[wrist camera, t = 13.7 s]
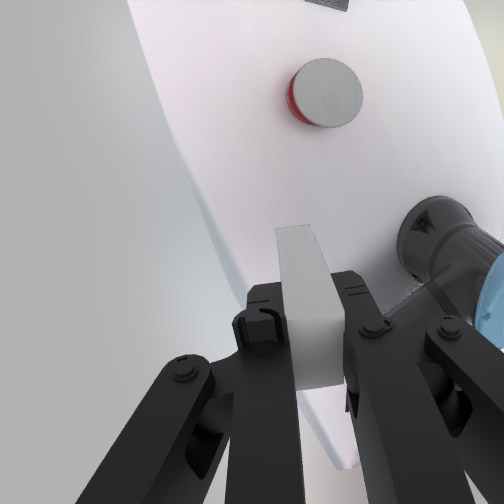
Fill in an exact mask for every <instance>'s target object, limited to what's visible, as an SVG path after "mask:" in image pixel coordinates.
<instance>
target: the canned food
mask: <svg viewBox="0 0 504 504" xmlns="http://www.w3.org/2000/svg"><path fill="white" fill-rule="evenodd" d="M286 98H287V103H288V106H289V108H290V110H291V112H292V113H293V114H294V116H296V117H297V118H298V119H299V120H301V121H302V122H304V123H307V124H311V125H316V126H321V127H327V128H334V127H340V126H343V125H345V124H347V123H349V122H350V121H352V120H353V119H354V118H355V117H356V115H357V114H358V112H359V110H360V108H361V105H362V99H363V94H362V87H361V84H360V82H359V80H358V77H357V76H356V75H355V73H354V72H353V71H352V70H351V69H350V68H349V67H348V66H346V65H345V64H343V63H342V62H339V61H337V60H334V59H330V58H321V59H316V60H313V61H310V62H308V63H307V64H305V65H304V66H303V67H302V68H301V69H300V70H299V71H298V72H297V73H296V75H295V76H294V77H293V78H292V80H291V81H290V83H289V85H288V88H287V92H286Z"/></svg>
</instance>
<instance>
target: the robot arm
mask: <svg viewBox="0 0 504 504" xmlns="http://www.w3.org/2000/svg"><path fill="white" fill-rule="evenodd" d="M275 230H276V238H277V247H278V256H279V265H280V274H281V282H275V283H268V284H260V285H254V286H253V287H252V289H251V290H250V291H249V292H248V294H247V307H246V310H243V311H241V312H240V313H239V314H238V315H237V316H236V317H235V318H234V320H233V322H232V327H233V330H234V334H235V338H236V342H237V346H238V351H237V352H235V353H234V354H232V355H231V356H229V357H227V358H225V359H222V360H219V361H216V362H212V363H209V362H208V361H207V360H206V359H205V358H204V357H202V356H199V355H195V354H192V355H183V356H180V357H176V358H175V359H173V360H171V361H170V362H168V363H167V364H166V366H165V367H164V368H163V369H162V370H161V372H160V373H159V375H158V376H157V378H156V379H155V381H154V383H153V384H152V386H151V387H150V389H149V390H148V392H147V393H146V395H145V396H144V398H143V399H142V401H141V402H140V404H139V405H138V407H137V408H136V410H135V412H134V413H133V415H132V416H131V418H130V419H129V421H128V422H127V424H126V425H125V427H124V428H123V430H122V431H121V433H120V435H119V436H118V438H117V439H116V441H115V442H114V444H113V445H112V447H111V448H110V450H109V452H108V453H107V455H106V456H105V458H104V459H103V461H102V462H101V464H100V465H99V467H98V469H97V470H96V472H95V473H94V475H93V476H92V478H91V480H90V481H89V483H88V484H87V486H86V488H85V489H84V490H83V492H82V494H81V495H80V497H79V498H78V500H77V502H76V503H75V504H203V502H204V499H205V497H206V494H207V492H208V489H209V487H210V485H211V482H212V480H213V478H214V475H215V473H216V470H217V468H218V465H219V463H220V461H221V458H222V456H223V453H224V451H225V448H226V446H227V443H228V441H229V438H230V447H229V458H228V469H227V480H226V492H225V504H306V502H305V489H304V477H303V464H302V452H301V441H300V430H299V420H298V409H297V399H296V391H300V390H307V389H314V388H321V387H327V386H334V385H340V384H344V376H345V380H346V383H347V393H346V410H345V412H349V410H350V415H351V419H352V423H353V428H354V432H355V437H356V442H357V446H358V451H359V456H360V461H361V466H362V470H363V475H364V481H365V486H366V491H367V497H368V502H369V504H504V353H503V352H502V351H501V349H502V348H504V244H502V243H501V242H500V241H498V240H497V239H495V238H494V237H492V236H491V235H489V234H488V233H486V232H485V231H483V230H482V229H480V228H479V227H478V226H477V224H476V223H475V222H474V221H473V218H472V216H471V214H470V213H469V211H468V210H467V209H466V208H465V207H464V206H463V205H462V204H460V203H459V202H457V201H455V200H453V199H451V198H449V197H445V196H435V197H431V198H428V199H426V200H424V201H422V202H421V203H419V204H418V205H417V206H415V207H414V208H413V209H412V210H411V211H410V213H409V214H408V215H407V217H406V218H405V220H404V222H403V224H402V226H401V229H400V232H399V235H398V242H397V250H398V256H399V259H400V262H401V264H402V266H403V267H404V268H405V270H406V271H407V272H408V273H409V275H410V276H412V277H413V278H414V279H415V280H417V281H419V282H421V283H424V284H425V285H423V286H422V287H420V288H419V289H418V290H417V291H415V292H414V293H413V294H411V295H410V296H409V297H408V298H406V299H405V300H404V301H402V302H401V303H400V304H398V305H397V306H395V307H394V308H393V309H391V310H390V311H388V312H387V313H386V314H384V315H382V314H381V312H380V310H379V308H378V306H377V305H376V303H375V301H374V299H373V297H372V295H371V293H369V290H368V288H367V286H366V284H365V282H364V280H363V279H362V277H361V276H360V275H358V274H357V273H355V272H354V271H352V270H351V271H345V272H338V273H331V274H330V272H329V270H328V267H327V265H326V262H325V260H324V257H323V255H322V252H321V250H320V247H319V245H318V243H317V240H316V238H315V235H314V233H313V231H312V228H311V226H310V224H306V225H299V226H292V227H285V228H278V229H275Z"/></svg>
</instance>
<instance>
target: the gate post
mask: <svg viewBox="0 0 504 504" xmlns="http://www.w3.org/2000/svg"><path fill="white" fill-rule="evenodd" d="M305 1H307V2H312V3H316V4H320V5H324V6H327V7H331V8H335V9H338V10H342V11H345V12H346V11H347V8H348V2H349V0H305Z"/></svg>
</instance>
